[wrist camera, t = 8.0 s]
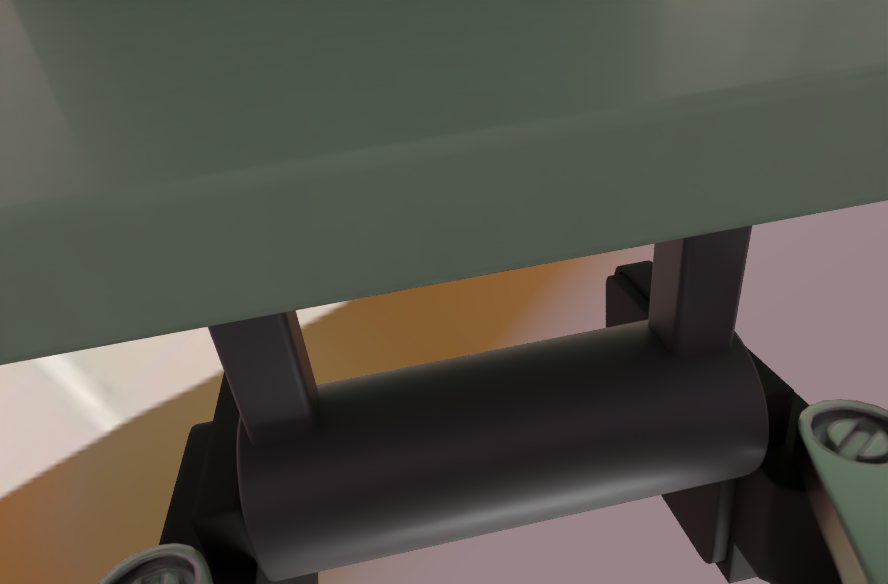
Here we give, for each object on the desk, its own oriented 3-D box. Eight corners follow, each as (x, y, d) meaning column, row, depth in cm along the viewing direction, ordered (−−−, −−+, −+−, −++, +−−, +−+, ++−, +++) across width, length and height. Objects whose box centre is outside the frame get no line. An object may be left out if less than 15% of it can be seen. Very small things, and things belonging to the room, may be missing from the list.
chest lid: (-1611, 477, 2) (-412, 928, 5) (1861, -94, 4) (1316, 494, 7) (-7, -11, 15) (89, 207, 18) (688, -103, 16) (670, 110, 19)
